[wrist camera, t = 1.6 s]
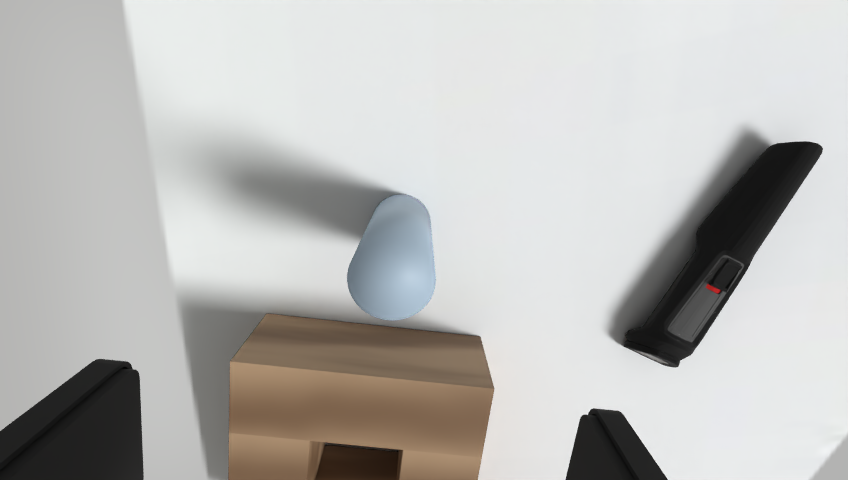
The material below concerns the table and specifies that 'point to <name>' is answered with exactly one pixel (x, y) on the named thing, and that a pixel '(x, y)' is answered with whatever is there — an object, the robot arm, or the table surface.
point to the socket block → (356, 402)
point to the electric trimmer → (723, 253)
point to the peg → (394, 261)
